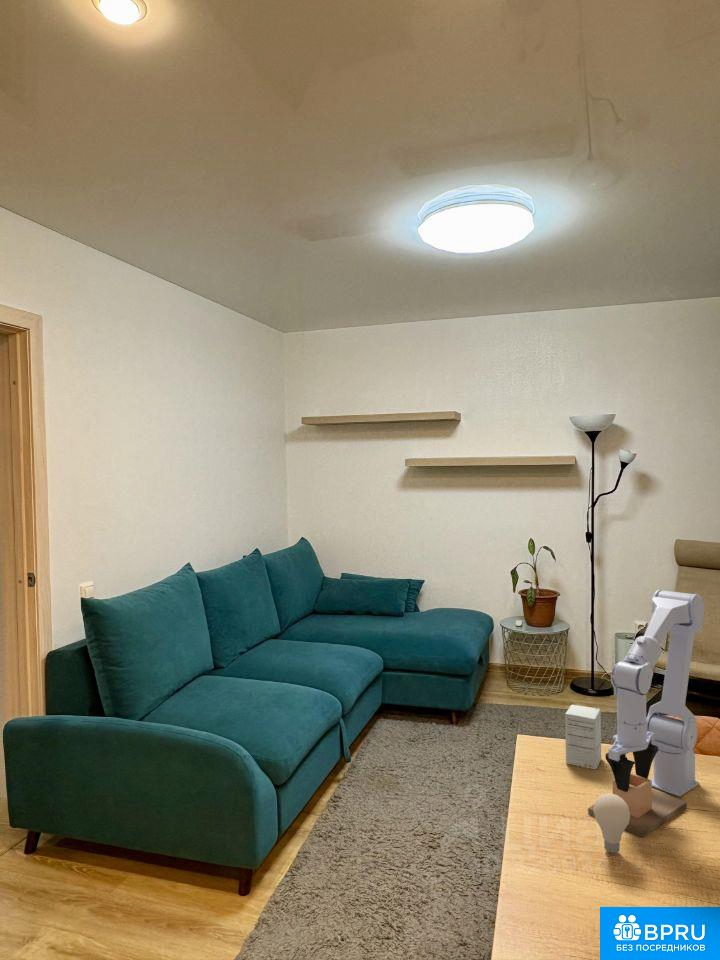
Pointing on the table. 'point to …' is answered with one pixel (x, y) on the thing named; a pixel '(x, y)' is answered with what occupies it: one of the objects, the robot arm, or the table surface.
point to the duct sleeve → (636, 795)
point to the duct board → (653, 814)
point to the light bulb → (611, 819)
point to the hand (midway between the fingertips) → (632, 784)
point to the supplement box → (583, 736)
